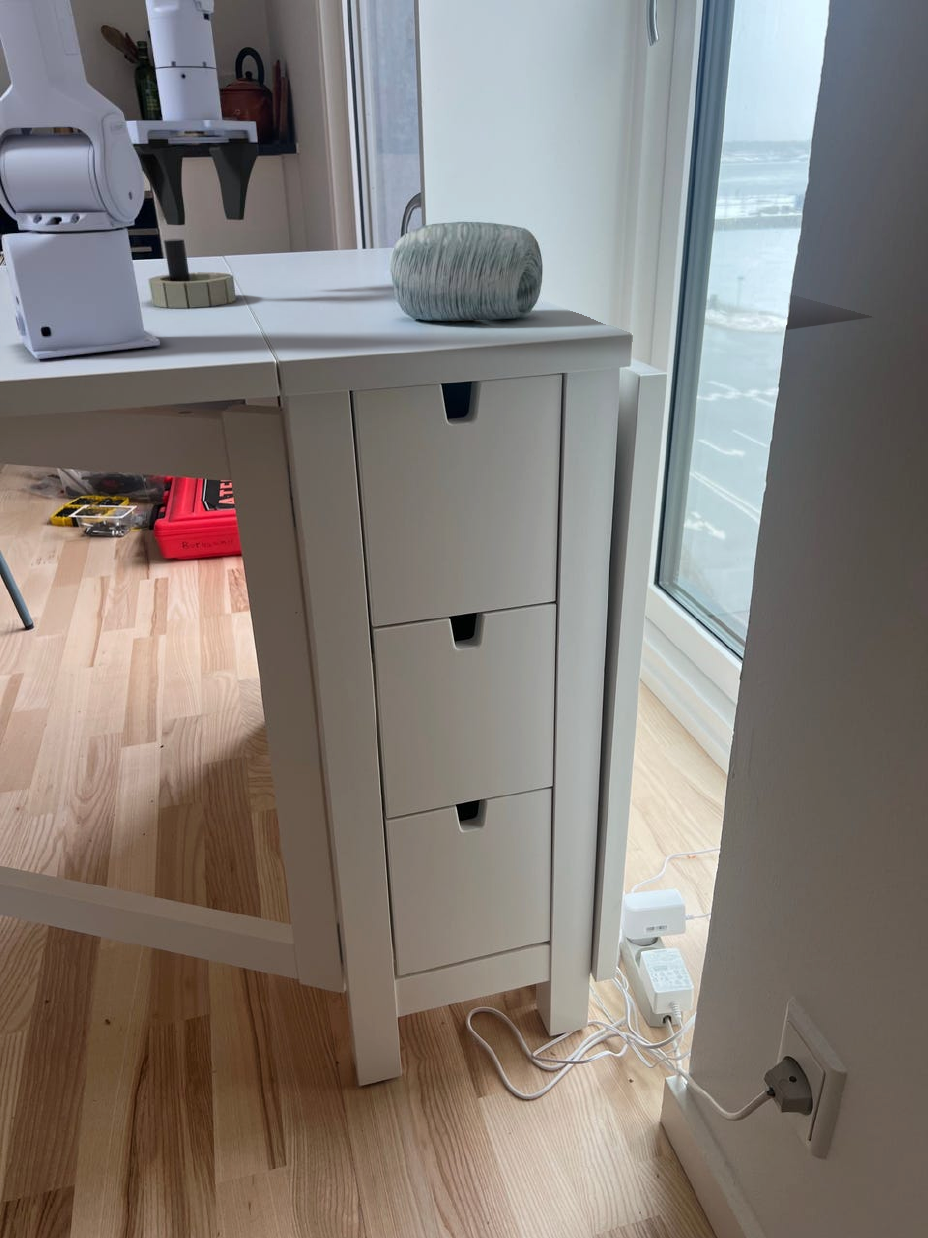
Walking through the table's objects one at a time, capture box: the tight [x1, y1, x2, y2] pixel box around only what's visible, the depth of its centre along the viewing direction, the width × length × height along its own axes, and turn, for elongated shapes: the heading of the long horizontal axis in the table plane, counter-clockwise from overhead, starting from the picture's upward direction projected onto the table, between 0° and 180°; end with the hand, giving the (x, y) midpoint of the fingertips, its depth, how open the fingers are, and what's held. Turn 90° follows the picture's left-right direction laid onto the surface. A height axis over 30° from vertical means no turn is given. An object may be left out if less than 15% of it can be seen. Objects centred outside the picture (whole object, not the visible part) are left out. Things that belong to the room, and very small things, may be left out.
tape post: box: [163, 238, 190, 282], centre depth 96 cm, size 2×2×6 cm
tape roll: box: [147, 271, 237, 309], centre depth 96 cm, size 8×8×2 cm
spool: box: [389, 221, 544, 322], centre depth 82 cm, size 14×10×10 cm
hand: (206, 222), depth 95 cm, fingers open, 7 cm apart
